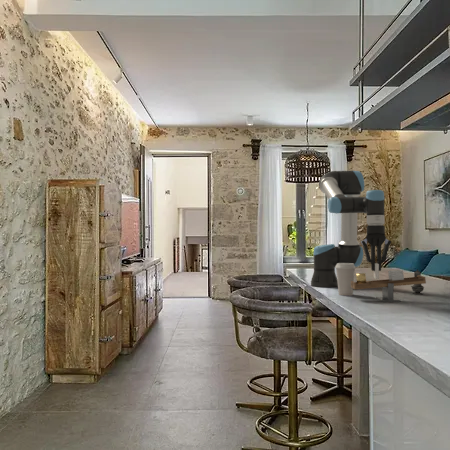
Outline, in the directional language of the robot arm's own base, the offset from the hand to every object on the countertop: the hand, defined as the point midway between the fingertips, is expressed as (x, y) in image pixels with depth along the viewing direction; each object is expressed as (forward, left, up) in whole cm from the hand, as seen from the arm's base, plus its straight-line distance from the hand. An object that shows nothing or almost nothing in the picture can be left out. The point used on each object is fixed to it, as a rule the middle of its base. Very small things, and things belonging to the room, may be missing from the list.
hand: (376, 278), depth 181 cm
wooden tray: (0, +5, -3) cm, 6 cm away
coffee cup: (-16, -10, -10) cm, 21 cm away
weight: (0, -6, -3) cm, 7 cm away
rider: (0, +9, -2) cm, 9 cm away
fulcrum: (0, +5, -10) cm, 11 cm away
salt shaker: (-20, +25, -10) cm, 33 cm away
